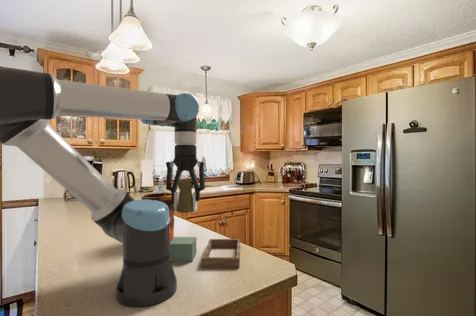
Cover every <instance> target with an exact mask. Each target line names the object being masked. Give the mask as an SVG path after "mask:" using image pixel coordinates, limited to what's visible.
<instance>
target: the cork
mask: <svg viewBox="0 0 476 316" xmlns="http://www.w3.org/2000/svg"><path fill="white" fill-rule="evenodd" d="M177 188H178V189H179V199H178V207H177V211H176V212H177V213H181V214H185V213H186V214H187V213H188V214H189V213H194V212H195V211H193V191H192V189H194V185H193V182H192V179H181V180H179V183H178V187H177Z"/></svg>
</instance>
